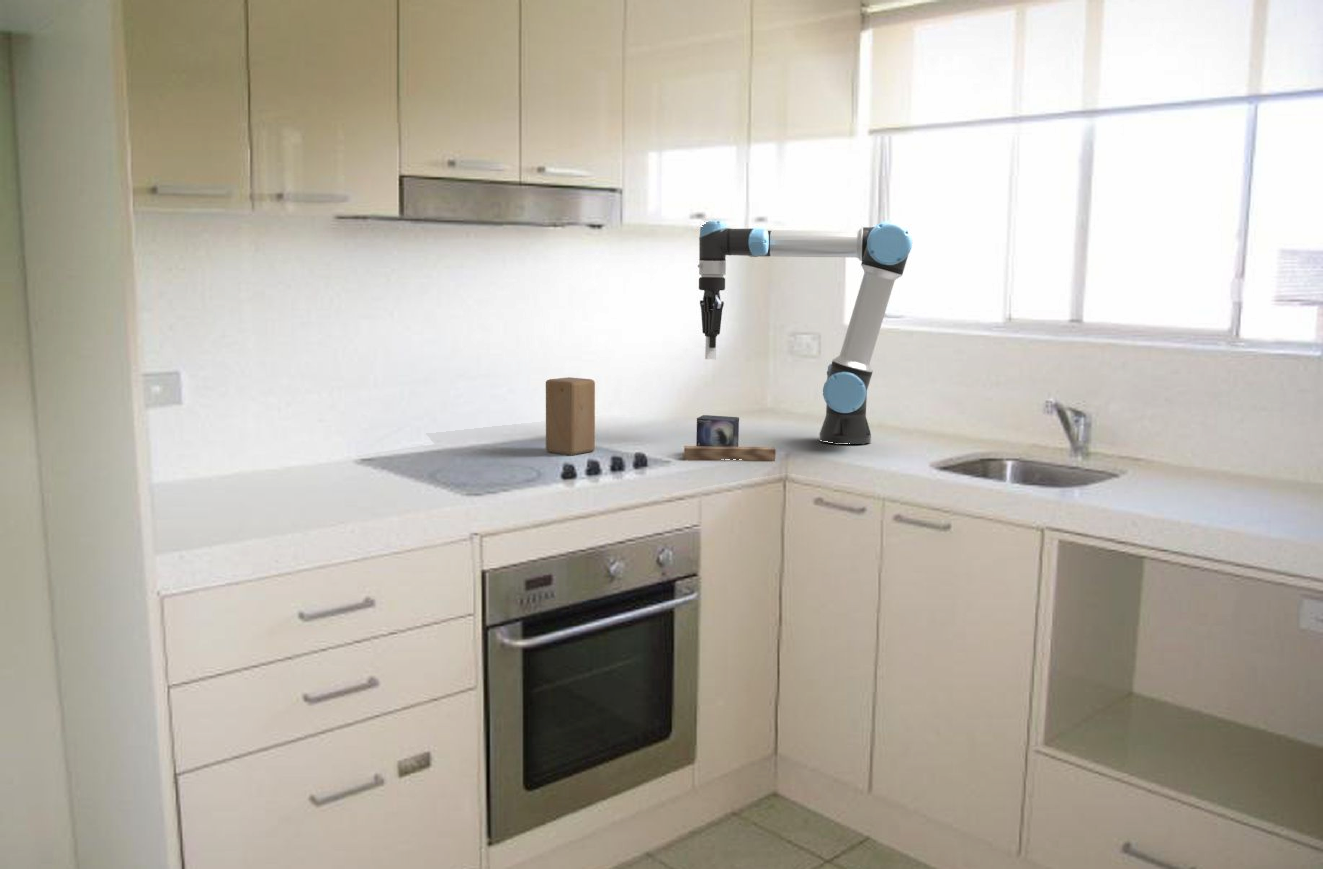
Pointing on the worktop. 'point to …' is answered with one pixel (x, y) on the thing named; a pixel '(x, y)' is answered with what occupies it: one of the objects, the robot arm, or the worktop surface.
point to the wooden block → (570, 416)
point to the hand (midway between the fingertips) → (710, 359)
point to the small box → (717, 431)
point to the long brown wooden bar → (729, 453)
